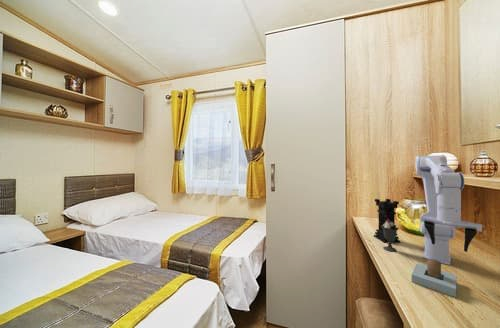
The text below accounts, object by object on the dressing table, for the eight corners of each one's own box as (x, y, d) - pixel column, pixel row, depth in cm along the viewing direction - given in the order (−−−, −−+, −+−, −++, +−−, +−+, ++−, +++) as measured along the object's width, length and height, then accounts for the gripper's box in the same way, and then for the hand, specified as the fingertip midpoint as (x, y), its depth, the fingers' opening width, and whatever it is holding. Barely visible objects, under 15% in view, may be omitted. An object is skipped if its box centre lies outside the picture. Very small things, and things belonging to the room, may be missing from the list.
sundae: (381, 244, 92) (381, 213, 92) (399, 248, 88) (399, 215, 88) (380, 249, 87) (379, 216, 87) (398, 254, 83) (398, 219, 83)
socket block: (416, 270, 71) (416, 263, 71) (456, 282, 63) (456, 275, 63) (411, 281, 64) (411, 274, 64) (455, 297, 56) (455, 289, 56)
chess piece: (400, 242, 94) (400, 201, 94) (383, 242, 94) (383, 202, 94) (388, 236, 102) (388, 198, 102) (373, 236, 102) (373, 198, 102)
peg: (427, 278, 66) (427, 257, 66) (440, 281, 64) (440, 260, 64) (427, 282, 63) (427, 261, 63) (441, 286, 61) (441, 264, 61)
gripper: (418, 205, 69) (419, 243, 69) (482, 213, 58) (482, 258, 58) (421, 203, 74) (422, 238, 74) (481, 209, 63) (481, 251, 63)
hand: (448, 246), depth 66 cm, fingers open, 7 cm apart
